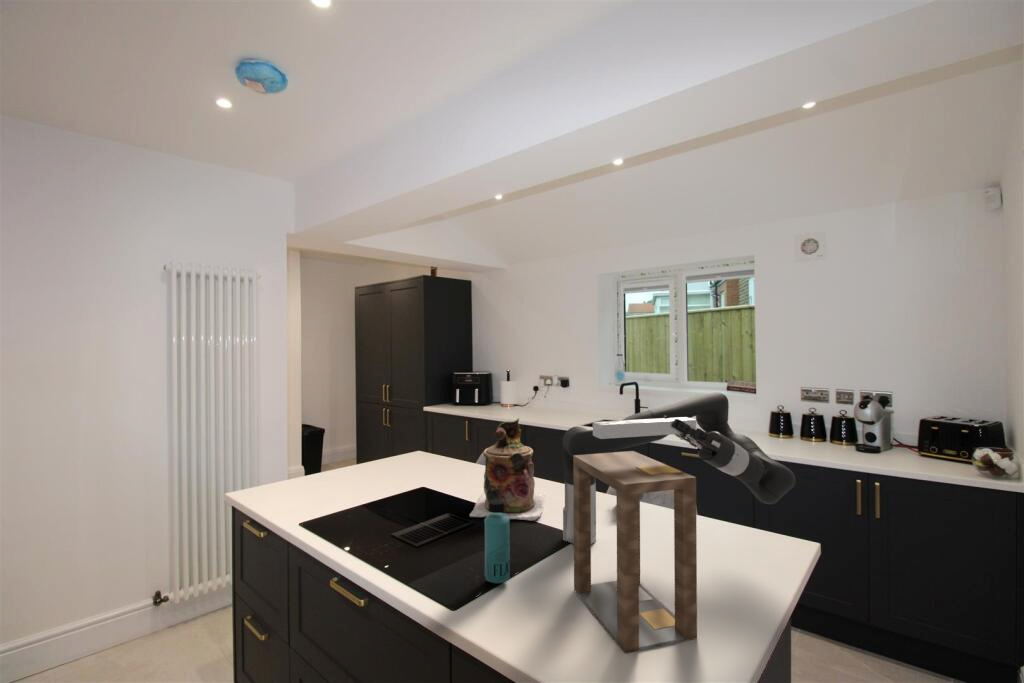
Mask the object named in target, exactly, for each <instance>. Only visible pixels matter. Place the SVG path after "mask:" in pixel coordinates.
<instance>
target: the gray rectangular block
mask: <svg viewBox="0 0 1024 683" xmlns="http://www.w3.org/2000/svg"><path fill="white" fill-rule="evenodd" d="M675 419H679V420H681V421H683V422H684V423H686V424H687V425H689V427H690V426H693V427H694V428H697V421H696V418H692V417H691V418H687V417H679V418H660V419H641V420H623V419H622V420H623V421H621V420H607V421H604V420H603V421H593V422H592V430H593V436H595V437H597V438H600V439H608V438H624V437H639V436H655V435H668V436H669V435H674V434H683V433H681V432H680V431H678V430H676V429H675V428H673V427H672V425H673V423H674V420H675Z"/></svg>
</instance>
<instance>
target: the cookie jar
mask: <svg viewBox="0 0 1024 683" xmlns="http://www.w3.org/2000/svg"><path fill="white" fill-rule="evenodd" d="M519 422H520V418H519V417H518V418H516V419H515V420H511V421H509V420H508V421H503V422H501V423H500V424H499V425H498V426H497V427H496V428H495V429H496V430H495V432H494V434H493V437H494V438H495V439H496V440H497V441H496V443H494V444H493V445H491V446H489V447H487V448H485V449H484V450H483V457H484V458H485V466H484V467H485V469H484V474H483V477H484V478H483V480H484V481H483V492H482V493H481V495H480V497H479V499H477V502H476V503H475V505H474V507H473V510H471V512H470V513H469V517H470V518H486V517H487V516H488V515H489V514H491V513H493V512H490V511H489V502H490V501H492V500H503V501H504V502H505V511H504V512H500V513H503V514H505V515H506V516H507V517H508V518H509V520H523V521H524V520H525V521H530V522H531V521H536V520H537V519H538V518H539V517H541V516H542V514H543V511H544V503H545V497H546V492H538V493H537V492H535V486H536V483H535V482H536V481H535V478H534V475H535V469H534V468H535V466H534V463H533V462H532V456H533V455H534V450H533V448H531V447H530V446H526V445H524V444H523V443H521V440H520V438H521V433H522V430H521V429H520V424H519Z"/></svg>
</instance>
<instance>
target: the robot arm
mask: <svg viewBox="0 0 1024 683" xmlns="http://www.w3.org/2000/svg"><path fill="white" fill-rule="evenodd" d="M729 407H730V406H729V399H728V397H727V396H726V395H725V394H723V393H722V392H718V391H717V392H716V391H709V392H704V393H700V394H697V395H694V396H691V397H688V398H686V399H684V400H681V401H677V402H675V403H671V404H668V405H664V406H662V407H661V406H660V407H658V408H657V407H656V408H653V409H648V410H646V411H645V410H644V411H641V412H638V413H634V414H632V415H629V416H627V417H625V418H623V419H622V420H620V421H623V420H641V419H660V418H679V417H687V418H691V419H692V418H694V417H695V420H696V425H698V426H699V427H700V428H698V427H696V428H694V427H693V426H690V427H689V425H687V424H686V423H684V422H683V421H681V420H679V419H675V420H674V423H673V425H672V427H673V428H675V429H676V430H678V431H680V432H681V433H683V434H673V435H674V436H676V437H677V438H678V439H680V440H682V441H684V442H686V443H688V444H689V445H690V446H691V447H694V448H695V449H697V455H698V457H699V458H700V459H701V460H702V461H704V462H706V463H707V464H708V465H711V466H712V467H714V468H716V469H717V470H719V471H721V472H723V473H725V474H728V475H729V476H731V477H733V478H735V479H737V480H738V481H739V482H742V484H743V485H745V486H746V487H747V488H748V489H749V490H750V491H751V493H752V494H753V495H754V497H756V499H757V500H758V501H759V502H761V503H762V504H765V505H775V504H776V503H778V501H780V499H782V498H783V497H784V496H785V495H786V494H788V492H789V491H790V490H791V489H793V488H794V486H795V485H796V476H795V474H794V472H793V471H792V470H791V469H790V468H788V467H787V466H785V465H784V464H782V463H780V462H778V461H776V460H775V459H773V458H771V457H769V455H767V454H766V453H765V451H763V450H762V449H761V448H760V446H759V445H758V444H757V443H756V441H753V439H751V438H750V437H749V436H746V435H745V434H741V433H736V432H734V431H733V430H732V428H731V426H730V425H729V422H728V421H729ZM668 436H669V435H655V436H639V437H624V438H608V439H600V438H597V437H595V436H593V429H590V430H589V429H587V428H585V427H582V426H572V427H570V428H569V429H568V430H566V432H565V433H564V436H563V438H562V468H563V469H562V470H563V474H564V507H562V508H563V509H562V541H563V540H564V542H567V541H568V543H569V542H570V543H569V544H571V543H572V545H574V478H573V455H586V454H599V453H613V452H617V451H619V450H623V449H629V448H632V447H638V446H642V445H644V444H645V445H646V444H649V443H653V442H657V441H660V440H663V439H665V438H667V437H668ZM596 480H597V478H596V477H594V476H592V475H591V474H590V481H591V545H592V544H594V543H595V542H597V499H596V498H597V491H596V490H597V487H596V486H597V483H596Z"/></svg>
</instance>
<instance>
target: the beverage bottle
mask: <svg viewBox="0 0 1024 683" xmlns="http://www.w3.org/2000/svg"><path fill="white" fill-rule="evenodd" d="M489 511H490V512H493V513H491V514H489V515H488V516H487V517H484V520H483V521H484V578H485V580H486V581H487V582H489V583H492V584H502V583H505V582H507V581H508V580H509V579H510V576H511V558H510V557H511V549H510V548H511V545H510V543H511V533H510V520H511V519H509V518H508V517H507V516H506V515H505V514H503V513H500V512H504V511H505V502H504V501H503V500H492V501H490V502H489Z"/></svg>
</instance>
